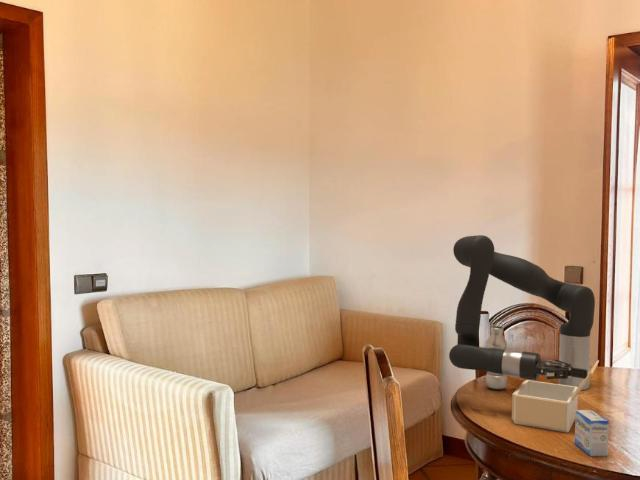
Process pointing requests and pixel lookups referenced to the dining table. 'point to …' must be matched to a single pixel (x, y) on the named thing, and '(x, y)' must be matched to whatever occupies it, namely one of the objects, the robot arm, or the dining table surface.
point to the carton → (544, 405)
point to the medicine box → (591, 433)
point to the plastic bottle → (496, 342)
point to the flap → (585, 380)
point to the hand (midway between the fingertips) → (587, 374)
